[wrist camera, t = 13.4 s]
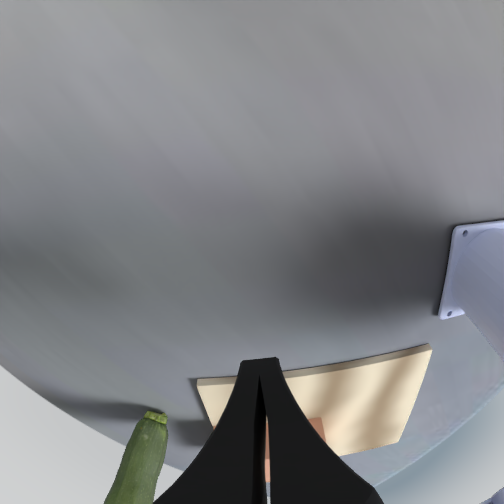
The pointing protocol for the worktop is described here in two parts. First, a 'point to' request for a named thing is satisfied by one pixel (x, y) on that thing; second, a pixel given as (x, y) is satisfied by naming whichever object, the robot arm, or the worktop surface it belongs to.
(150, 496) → the vegetable
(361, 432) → the board
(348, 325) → the worktop surface
